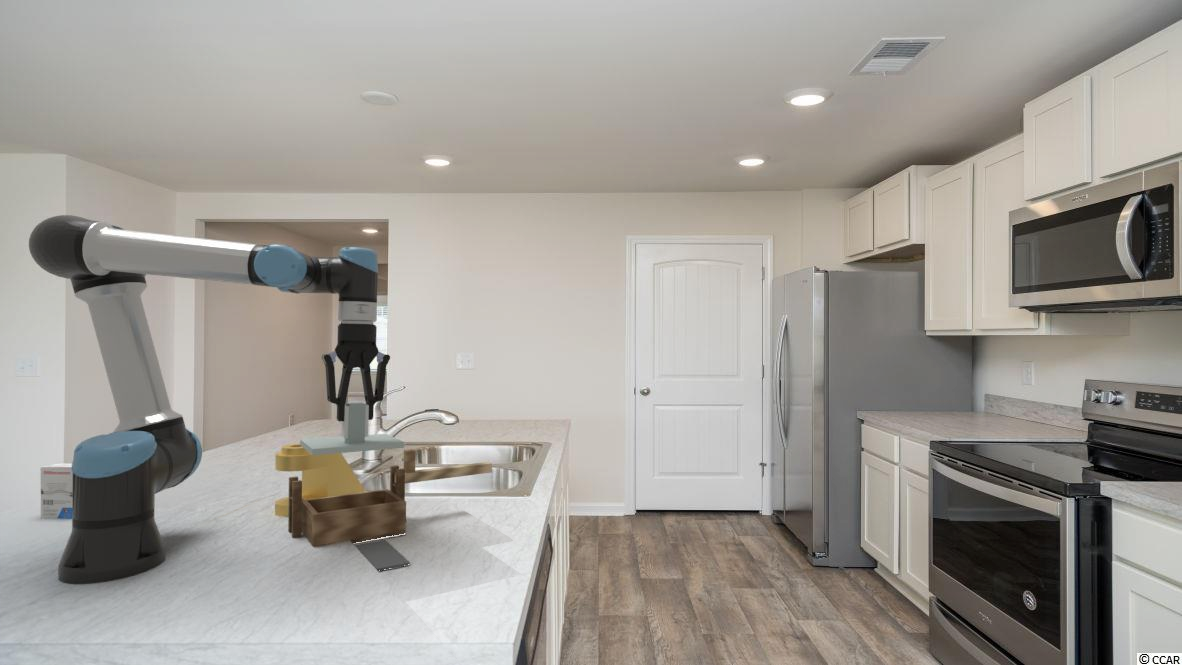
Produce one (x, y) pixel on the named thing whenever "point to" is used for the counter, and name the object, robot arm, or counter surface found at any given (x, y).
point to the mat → (382, 555)
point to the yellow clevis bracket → (316, 475)
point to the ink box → (56, 491)
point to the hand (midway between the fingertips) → (354, 436)
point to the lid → (352, 437)
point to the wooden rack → (349, 513)
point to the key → (440, 470)
